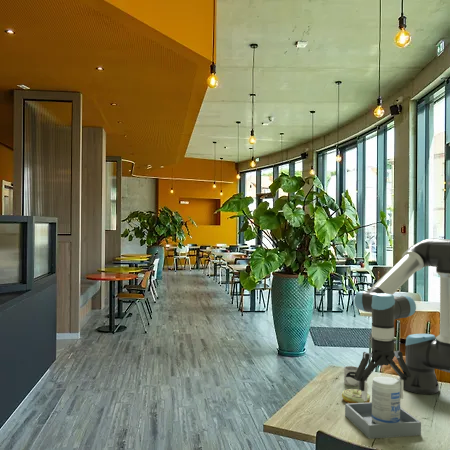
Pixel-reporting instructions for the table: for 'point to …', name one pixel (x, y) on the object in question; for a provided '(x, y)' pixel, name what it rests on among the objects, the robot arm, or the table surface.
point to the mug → (350, 376)
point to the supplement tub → (386, 400)
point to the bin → (363, 420)
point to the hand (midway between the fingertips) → (382, 398)
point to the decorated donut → (354, 396)
